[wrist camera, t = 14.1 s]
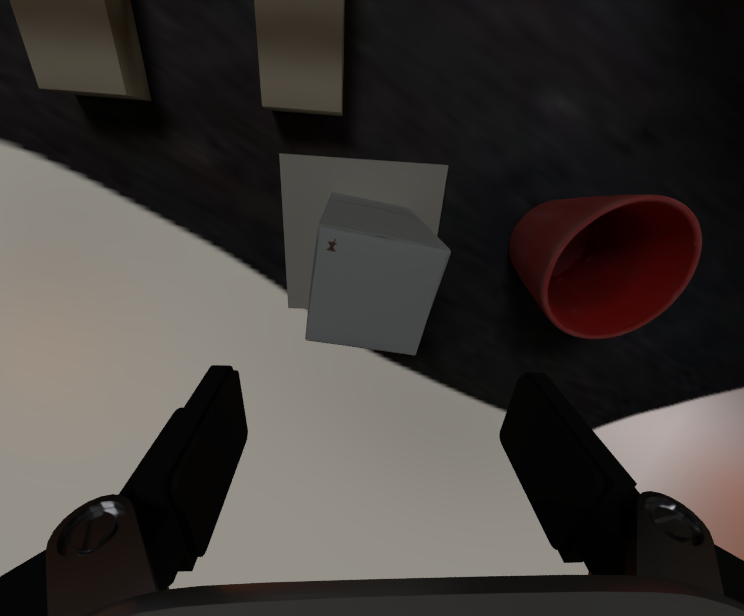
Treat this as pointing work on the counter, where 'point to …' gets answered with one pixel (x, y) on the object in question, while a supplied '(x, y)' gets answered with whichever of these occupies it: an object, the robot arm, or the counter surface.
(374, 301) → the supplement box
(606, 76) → the counter surface
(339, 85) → the box dock
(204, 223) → the counter surface
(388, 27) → the counter surface
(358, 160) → the tile
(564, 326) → the flower pot
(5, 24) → the counter surface
